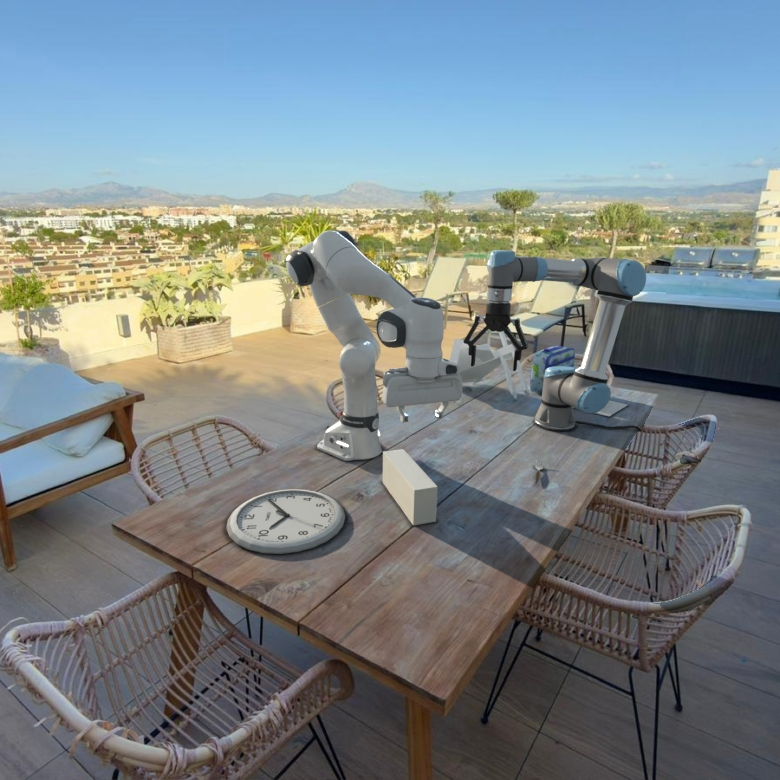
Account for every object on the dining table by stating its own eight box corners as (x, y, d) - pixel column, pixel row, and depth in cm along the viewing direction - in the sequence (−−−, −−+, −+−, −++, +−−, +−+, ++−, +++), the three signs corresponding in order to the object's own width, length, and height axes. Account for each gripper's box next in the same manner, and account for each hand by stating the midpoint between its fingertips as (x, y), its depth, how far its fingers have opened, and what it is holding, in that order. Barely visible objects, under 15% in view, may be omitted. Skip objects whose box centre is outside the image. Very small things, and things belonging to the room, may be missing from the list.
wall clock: (345, 545, 122) (213, 550, 119) (345, 551, 122) (214, 556, 120) (344, 484, 150) (238, 487, 148) (345, 490, 151) (239, 492, 148)
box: (382, 482, 156) (382, 451, 153) (402, 479, 158) (403, 448, 155) (413, 525, 134) (414, 490, 131) (436, 521, 136) (437, 486, 133)
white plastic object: (461, 429, 252) (437, 405, 227) (444, 352, 274) (420, 323, 250) (535, 404, 240) (518, 377, 215) (510, 326, 262) (492, 293, 237)
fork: (531, 484, 156) (531, 478, 156) (536, 462, 170) (536, 457, 170) (540, 485, 155) (541, 479, 155) (544, 464, 170) (545, 458, 169)
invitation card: (608, 416, 214) (573, 407, 224) (608, 416, 214) (573, 408, 224) (628, 404, 229) (594, 396, 238) (628, 405, 229) (594, 397, 238)
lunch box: (546, 399, 235) (551, 353, 228) (525, 393, 242) (530, 349, 236) (574, 387, 252) (579, 345, 246) (553, 383, 260) (558, 341, 253)
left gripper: (387, 372, 121) (386, 428, 125) (466, 366, 127) (463, 419, 131) (378, 366, 126) (378, 419, 130) (455, 360, 133) (452, 411, 137)
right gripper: (456, 300, 164) (453, 366, 170) (538, 306, 155) (531, 374, 161) (462, 297, 170) (458, 360, 177) (541, 302, 162) (534, 369, 168)
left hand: (421, 419), depth 131 cm, fingers open, 8 cm apart
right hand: (493, 367), depth 169 cm, fingers open, 13 cm apart
